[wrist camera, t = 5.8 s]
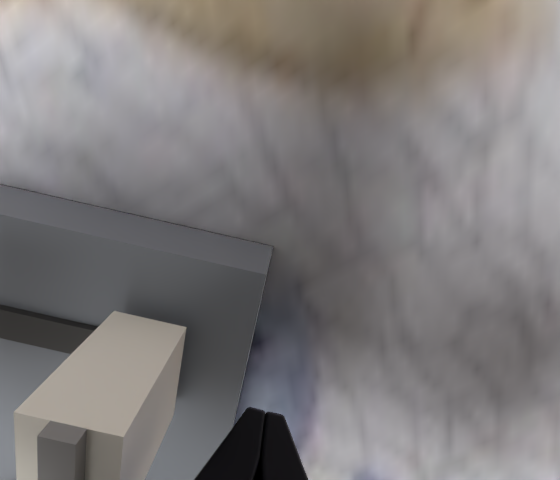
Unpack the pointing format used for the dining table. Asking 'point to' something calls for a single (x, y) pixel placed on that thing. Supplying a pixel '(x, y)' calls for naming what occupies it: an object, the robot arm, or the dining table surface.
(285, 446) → the robot arm
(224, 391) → the panel
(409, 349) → the dining table surface
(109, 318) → the slider
